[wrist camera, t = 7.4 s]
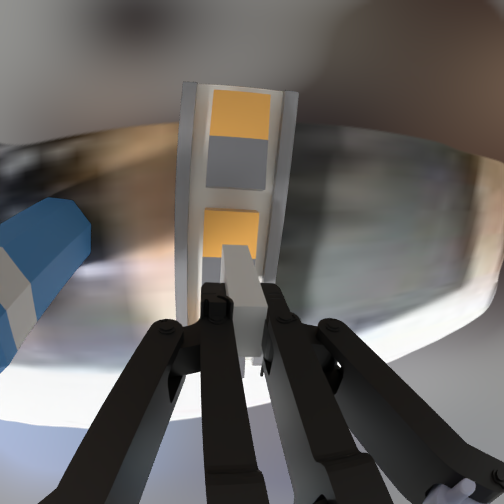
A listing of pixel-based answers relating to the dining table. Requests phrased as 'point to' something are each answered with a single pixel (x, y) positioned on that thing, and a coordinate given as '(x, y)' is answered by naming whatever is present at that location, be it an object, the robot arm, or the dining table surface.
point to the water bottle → (37, 265)
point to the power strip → (226, 191)
